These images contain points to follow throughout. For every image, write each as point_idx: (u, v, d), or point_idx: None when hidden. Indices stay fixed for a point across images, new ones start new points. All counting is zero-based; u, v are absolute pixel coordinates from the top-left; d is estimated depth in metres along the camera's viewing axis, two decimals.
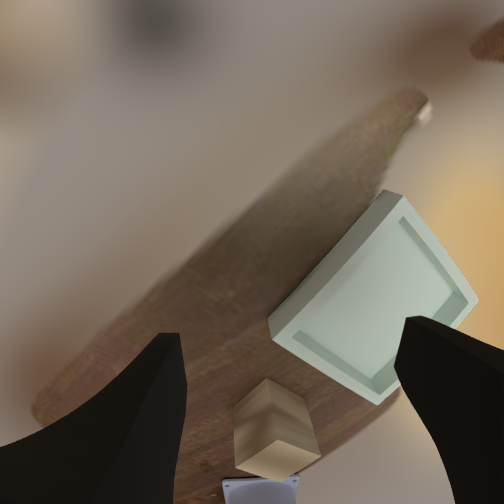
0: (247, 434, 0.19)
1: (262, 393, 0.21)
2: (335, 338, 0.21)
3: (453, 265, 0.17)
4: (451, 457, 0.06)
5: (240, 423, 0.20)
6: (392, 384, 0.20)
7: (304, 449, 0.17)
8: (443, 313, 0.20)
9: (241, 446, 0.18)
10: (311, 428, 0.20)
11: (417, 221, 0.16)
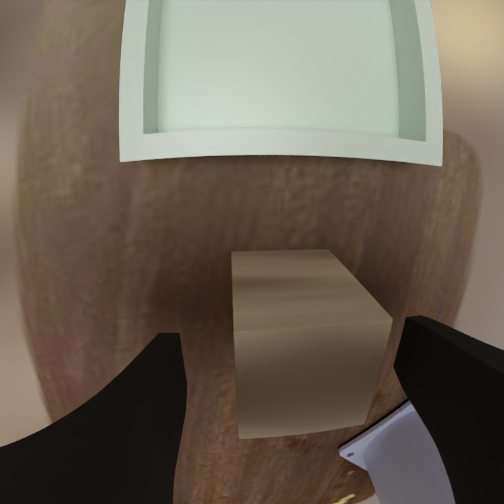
0: None
1: None
2: (262, 106, 0.11)
3: None
4: (451, 457, 0.06)
5: None
6: (426, 107, 0.09)
7: (332, 324, 0.07)
8: None
9: None
10: (355, 280, 0.10)
11: None
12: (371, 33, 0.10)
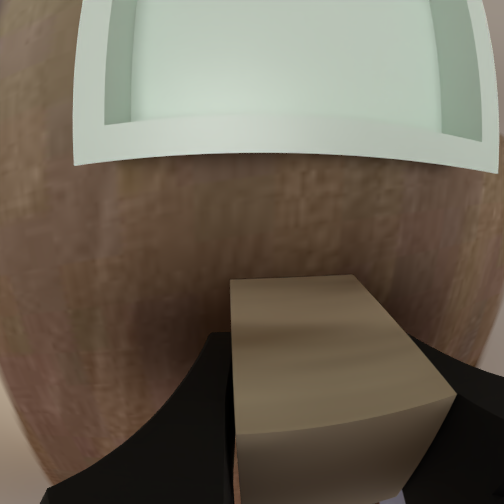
0: None
1: None
2: (271, 88, 0.08)
3: None
4: None
5: None
6: (482, 98, 0.06)
7: (381, 412, 0.04)
8: None
9: None
10: (395, 326, 0.07)
11: None
12: (405, 5, 0.07)
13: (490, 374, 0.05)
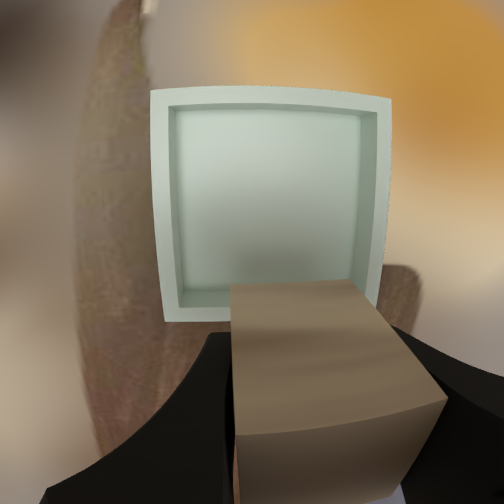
0: None
1: None
2: (254, 272, 0.17)
3: (296, 91, 0.12)
4: (406, 474, 0.06)
5: None
6: (368, 277, 0.15)
7: (374, 415, 0.05)
8: (365, 150, 0.15)
9: None
10: (391, 330, 0.07)
11: (191, 94, 0.12)
12: (339, 204, 0.16)
13: (490, 374, 0.05)
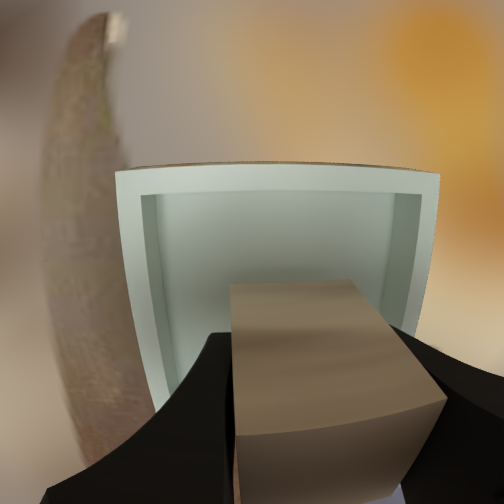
0: None
1: None
2: None
3: (320, 170, 0.09)
4: (406, 474, 0.06)
5: None
6: None
7: (373, 415, 0.05)
8: (399, 235, 0.12)
9: None
10: (390, 331, 0.07)
11: (171, 178, 0.09)
12: None
13: (490, 374, 0.05)
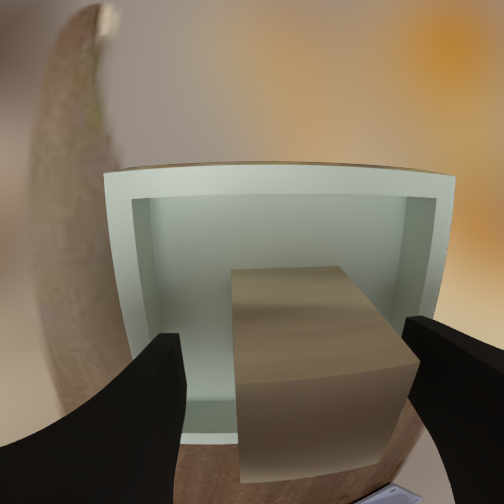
0: None
1: None
2: None
3: (329, 172, 0.09)
4: (451, 457, 0.06)
5: None
6: None
7: (353, 371, 0.06)
8: (410, 241, 0.11)
9: (237, 430, 0.08)
10: (372, 308, 0.09)
11: (164, 180, 0.08)
12: None
13: None
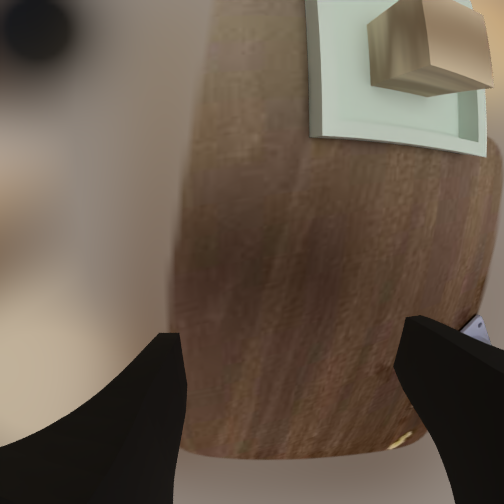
0: (402, 45, 0.11)
1: (376, 27, 0.13)
2: (388, 112, 0.16)
3: None
4: (451, 457, 0.06)
5: (389, 64, 0.12)
6: (479, 122, 0.14)
7: (458, 3, 0.08)
8: None
9: (411, 54, 0.10)
10: None
11: None
12: None
13: None
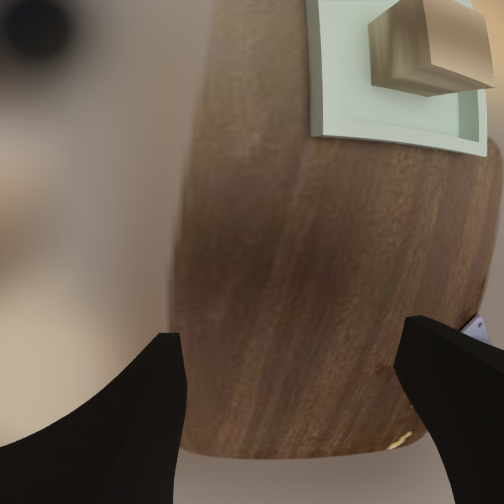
0: (403, 44, 0.11)
1: (376, 27, 0.13)
2: (389, 112, 0.16)
3: None
4: (451, 457, 0.06)
5: (390, 63, 0.12)
6: (479, 122, 0.14)
7: (459, 3, 0.08)
8: None
9: (412, 54, 0.10)
10: None
11: None
12: None
13: None
